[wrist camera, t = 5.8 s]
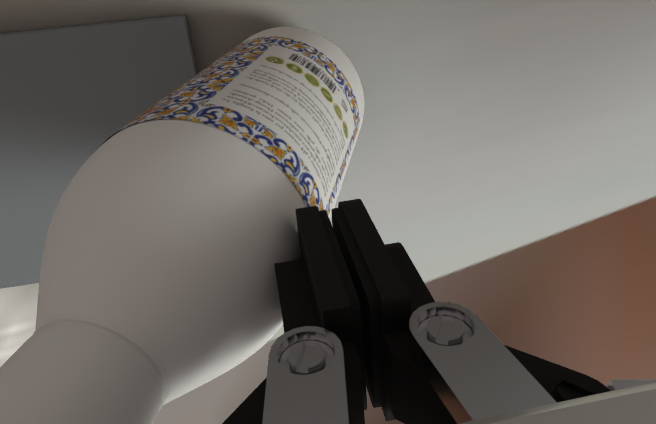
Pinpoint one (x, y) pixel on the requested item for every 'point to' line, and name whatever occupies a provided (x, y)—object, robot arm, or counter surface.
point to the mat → (72, 114)
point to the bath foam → (184, 234)
